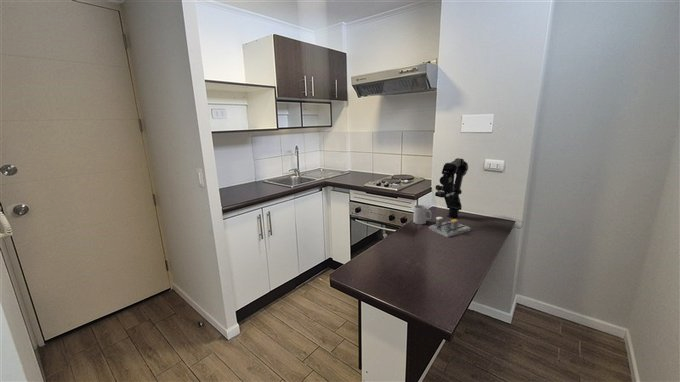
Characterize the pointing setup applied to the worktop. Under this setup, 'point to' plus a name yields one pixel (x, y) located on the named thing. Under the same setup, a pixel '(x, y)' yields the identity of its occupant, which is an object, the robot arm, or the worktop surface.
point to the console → (449, 229)
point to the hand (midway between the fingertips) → (447, 205)
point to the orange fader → (454, 224)
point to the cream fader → (439, 221)
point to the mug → (421, 214)
